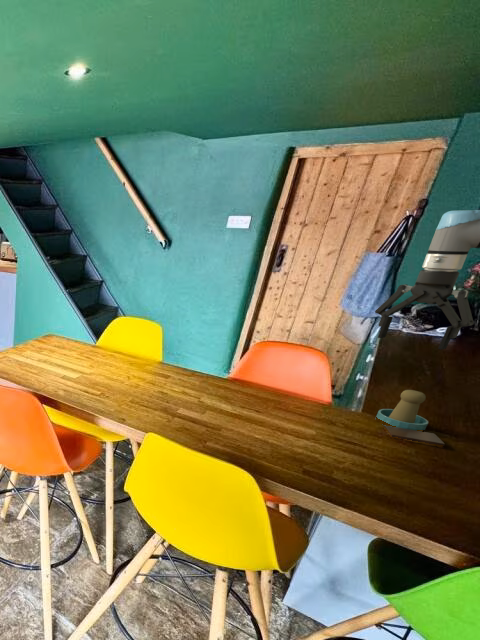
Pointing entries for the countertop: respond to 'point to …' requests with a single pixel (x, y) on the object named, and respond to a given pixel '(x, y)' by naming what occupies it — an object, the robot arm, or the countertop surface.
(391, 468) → the countertop surface
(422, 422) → the bowl
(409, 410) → the cork
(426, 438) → the board
